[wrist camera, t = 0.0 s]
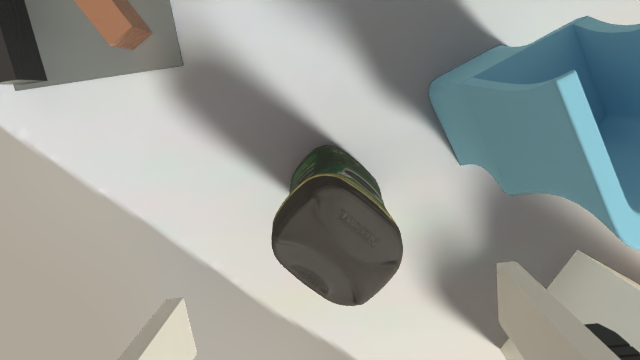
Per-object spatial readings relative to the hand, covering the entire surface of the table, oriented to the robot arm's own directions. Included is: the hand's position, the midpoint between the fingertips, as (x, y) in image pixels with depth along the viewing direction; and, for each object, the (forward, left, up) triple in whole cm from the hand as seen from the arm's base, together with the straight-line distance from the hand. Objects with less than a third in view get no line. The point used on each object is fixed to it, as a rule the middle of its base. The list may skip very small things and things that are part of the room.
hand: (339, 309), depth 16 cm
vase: (-5, +17, -28) cm, 33 cm away
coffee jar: (+2, 0, -28) cm, 28 cm away
